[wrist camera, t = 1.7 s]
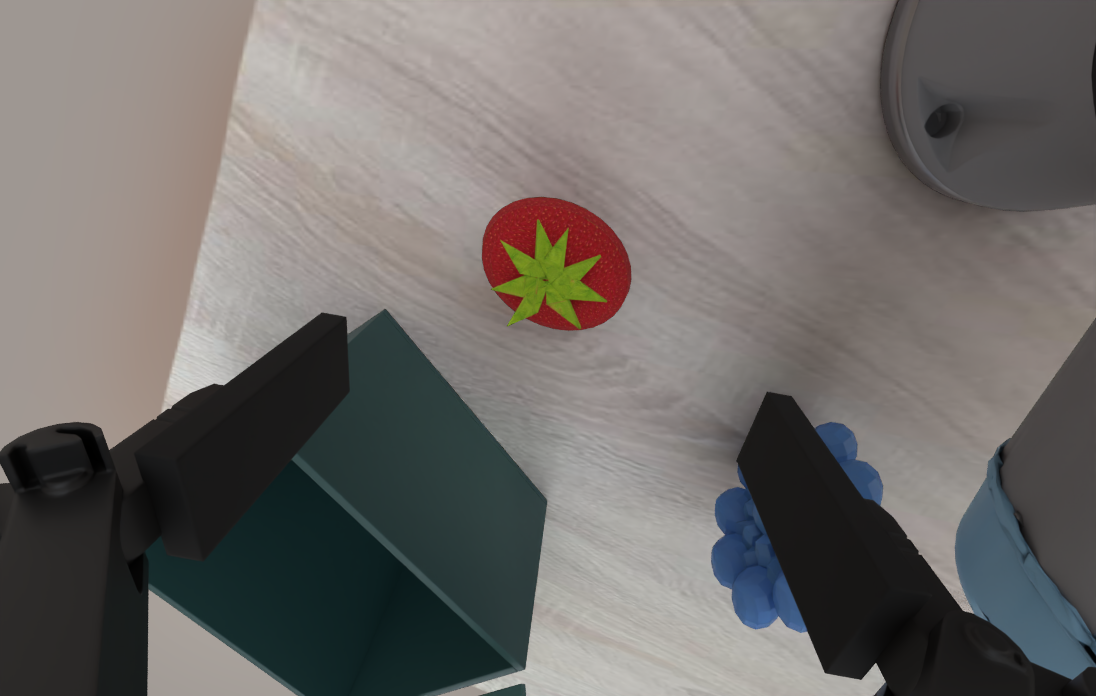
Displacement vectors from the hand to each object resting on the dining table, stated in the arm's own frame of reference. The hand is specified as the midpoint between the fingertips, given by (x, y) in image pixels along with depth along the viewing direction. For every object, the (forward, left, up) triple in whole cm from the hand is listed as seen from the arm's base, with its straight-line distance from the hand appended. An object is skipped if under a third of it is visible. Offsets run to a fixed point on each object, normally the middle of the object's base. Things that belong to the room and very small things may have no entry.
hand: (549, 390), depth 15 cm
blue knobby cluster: (+11, +16, -15) cm, 25 cm away
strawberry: (-1, -1, -15) cm, 15 cm away
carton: (+18, -10, -15) cm, 25 cm away
